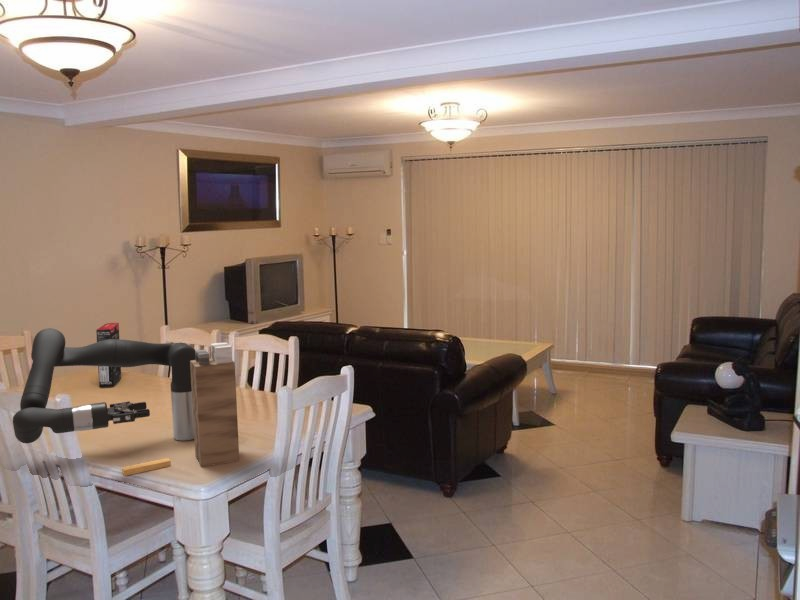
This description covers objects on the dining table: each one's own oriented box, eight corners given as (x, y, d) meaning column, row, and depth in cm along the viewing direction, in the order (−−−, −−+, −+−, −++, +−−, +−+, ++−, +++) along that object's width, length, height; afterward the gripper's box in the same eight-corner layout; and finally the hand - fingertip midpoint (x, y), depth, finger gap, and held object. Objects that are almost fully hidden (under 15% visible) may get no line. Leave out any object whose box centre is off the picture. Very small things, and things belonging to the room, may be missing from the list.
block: (121, 473, 215) (121, 467, 214) (168, 463, 222) (167, 457, 222) (124, 476, 212) (123, 470, 212) (170, 466, 220) (170, 460, 219)
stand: (195, 456, 227) (189, 345, 222) (232, 450, 232) (227, 341, 227) (200, 467, 218) (194, 350, 213) (239, 460, 223) (234, 346, 218)
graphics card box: (107, 379, 332) (103, 322, 328) (123, 378, 333) (119, 322, 329) (99, 388, 315) (94, 329, 311) (115, 387, 316) (111, 328, 312)
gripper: (90, 422, 214) (146, 414, 221) (92, 436, 201) (151, 427, 208) (88, 398, 213) (144, 391, 220) (90, 410, 200) (149, 402, 207)
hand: (147, 408), depth 214 cm, fingers open, 8 cm apart
